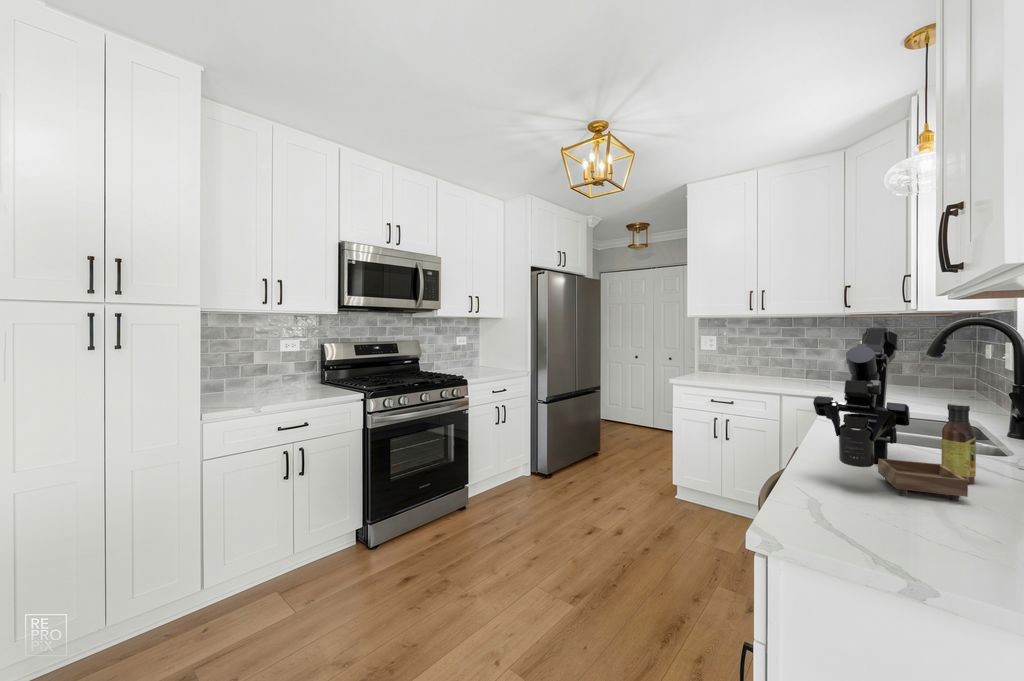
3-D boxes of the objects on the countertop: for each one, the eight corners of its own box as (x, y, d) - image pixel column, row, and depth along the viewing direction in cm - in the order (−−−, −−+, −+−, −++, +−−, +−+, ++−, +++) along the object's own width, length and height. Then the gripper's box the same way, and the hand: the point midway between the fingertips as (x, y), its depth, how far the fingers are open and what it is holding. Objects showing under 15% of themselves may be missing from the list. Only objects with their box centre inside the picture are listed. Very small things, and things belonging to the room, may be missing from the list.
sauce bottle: (978, 486, 109) (980, 407, 108) (943, 481, 112) (944, 405, 112) (972, 478, 114) (973, 403, 113) (938, 474, 118) (940, 401, 117)
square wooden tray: (878, 478, 115) (878, 458, 115) (941, 485, 109) (941, 464, 109) (896, 496, 103) (896, 473, 103) (967, 504, 98) (967, 480, 98)
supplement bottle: (841, 457, 112) (841, 411, 112) (875, 462, 108) (875, 414, 107) (836, 463, 108) (836, 415, 107) (872, 469, 103) (872, 419, 102)
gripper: (815, 366, 116) (804, 413, 109) (909, 370, 103) (903, 425, 95) (822, 391, 122) (811, 438, 115) (912, 399, 108) (906, 452, 101)
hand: (854, 437), depth 106 cm, fingers closed on supplement bottle, 7 cm apart
